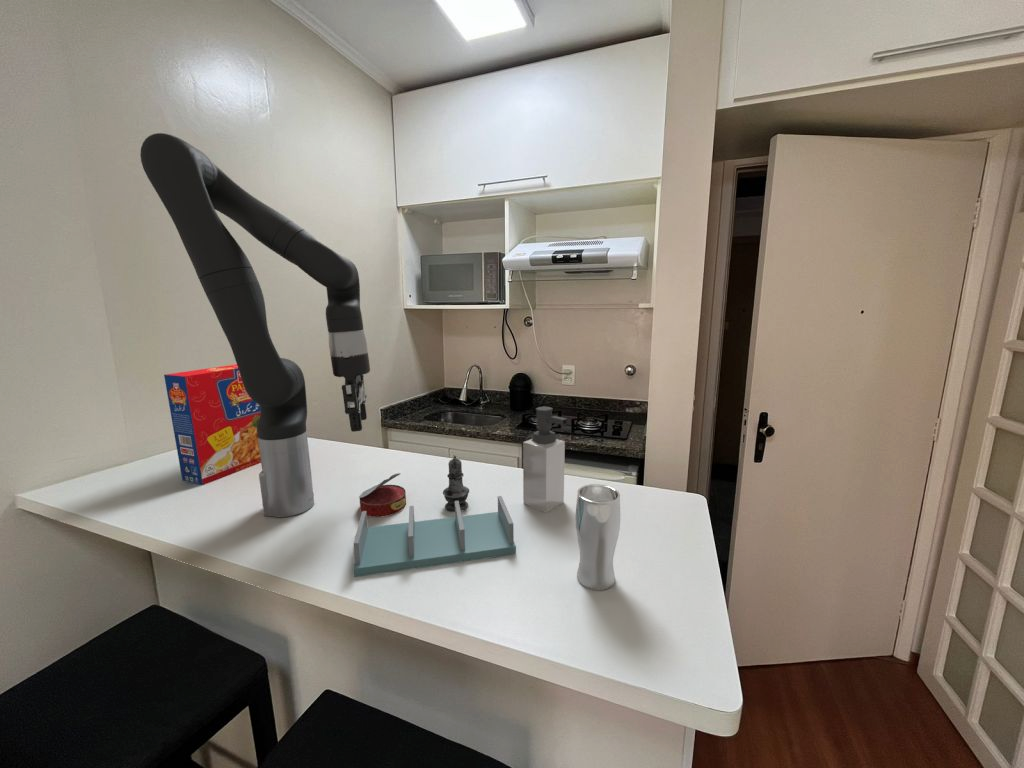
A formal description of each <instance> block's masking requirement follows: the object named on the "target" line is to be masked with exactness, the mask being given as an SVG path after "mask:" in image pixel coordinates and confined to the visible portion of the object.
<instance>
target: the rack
mask: <svg viewBox="0 0 1024 768" xmlns="http://www.w3.org/2000/svg"><path fill="white" fill-rule="evenodd" d="M408 507H409V509H408V522H403V523H394V524H393V523H392V524H385V525H378V526H377V525H376V526H368V516H367V511H362V512H361V514H360V517H359V522H358V525H357V528H356V529H357V530H356V533H355V537H354V540H353V554H354V564H353V569H352V570H353V577H354V578H355V577H356V578H357V577H362V576H363V577H364V576H371V575H377V574H384V573H392V572H399V571H405V570H413V569H418V568H419V569H420V568H425V567H426V568H427V567H433V566H440V565H448V564H455V563H461V562H467V561H475V560H482V559H489V558H496V557H504V556H510V555H516V554H517V546H516V543H515V541H514V534H515V533H514V522H513V519H512V517H511V515H510V513H509V510H508V507H507V505H506V503H505V501H504V498H503V496H502V495H498V496H497V511H495V512H486V513H485V512H484V513H478V514H477V513H475V514H470V515H462V511H461V510H460V505H459V501H455V512H454V516H453V517H445V518H436V519H435V518H434V519H427V520H425V519H424V520H418V521H415V506H414V505H409V506H408Z"/></svg>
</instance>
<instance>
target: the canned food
mask: <svg viewBox="0 0 1024 768" xmlns="http://www.w3.org/2000/svg"><path fill="white" fill-rule="evenodd" d="M400 475H401V473H395V474H393V475H391V476H390V477H388V478H387V479H384V480H382V481H381V482H380V483H378V484H376V485H374V486H371V487H370V488H368V489H366V490H365V491H363V492H362V493H361V494H360V495H359V496H358V497H359V498H358V499H359V505H360V506H359V508H360V512H361V513H362V511H367V517H370V516H371V518H383V517H387V516H393V515H395V514H397V513H399V512H401V511H402V510H403V509H405V507H407V506H406V505H407V495H406V489H405V488H404V487H402V486H401V485H398V484H397V485H396V484H387V483H388V482H390V481H392V480H393V479H395V478H396V477H398V476H400ZM382 516H383V517H382Z"/></svg>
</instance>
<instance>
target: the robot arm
mask: <svg viewBox="0 0 1024 768" xmlns="http://www.w3.org/2000/svg"><path fill="white" fill-rule="evenodd" d="M140 162H141V165H142V167H143V170H144V172H145V175H146V177H147V179H148V181H149V182H150V184H151V185H152V188H153V189H154V190H155V192H156V194H157V196H158V197H159V199H160V201H161V202H162V204H163V206H164V208H165V209H166V211H167V213H168V215H169V216H170V218H171V221H172V222H173V224H174V226H175V228H176V230H177V233H178V235H179V237H180V239H181V243H182V244H183V246H184V248H185V250H186V253H187V255H188V257H189V259H190V261H191V264H192V266H193V268H194V270H195V273H196V276H197V278H198V280H199V282H200V285H201V287H202V289H203V291H204V294H205V295H206V298H207V300H208V302H209V304H210V305H211V307H212V310H213V311H214V314H215V316H216V318H217V321H218V323H219V325H220V326H221V328H222V329H221V330H222V331H223V333H224V334H225V338H226V339H227V341H228V343H229V346H230V348H231V351H232V355H233V357H234V360H235V362H236V364H237V366H238V369H239V372H240V376H241V379H242V382H243V385H244V387H245V390H246V392H247V394H248V395H249V396H250V398H251V399H252V400H253V401H255V402H256V403H258V404H259V405H261V413H260V418H259V421H258V423H257V435H258V443H259V450H260V457H261V463H260V464H261V472H259V474H258V480H259V485H260V486H259V487H260V494H261V501H262V509H263V515H264V516H265V517H267V516H271V517H274V518H287V517H293V516H297V515H299V514H302V513H305V512H307V511H308V510H310V509H311V508H312V507H313V506H314V505H315V499H314V498H315V496H314V495H315V494H314V488H313V479H312V478H313V477H312V469H311V458H310V451H309V450H310V449H309V441H308V432H307V420H308V419H307V417H308V404H307V403H308V402H307V389H306V382H305V375H304V373H303V370H302V369H301V368H300V366H299V365H298V364H297V363H296V362H294V361H293V360H291V359H289V358H286V357H285V358H284V357H280V354H279V353H278V350H277V349H276V346H275V345H274V342H273V341H272V337H271V334H270V333H269V332H270V331H269V327H268V320H267V311H266V303H265V297H264V292H263V290H262V288H261V284H260V282H259V280H258V277H257V275H256V273H255V270H254V268H253V265H252V264H251V262H250V260H249V258H248V257H247V255H246V253H245V252H244V251H243V249H242V247H241V246H240V245H239V243H238V242H237V240H236V239H235V237H234V236H233V235H232V234H231V232H230V231H229V230H228V228H227V227H226V226H225V224H224V223H223V221H222V220H221V218H220V216H218V213H217V212H219V213H220V214H222V215H224V216H226V217H228V219H230V220H231V221H233V222H234V223H236V224H237V225H239V226H240V227H242V229H244V230H245V231H246V232H247V233H248V234H250V235H251V236H252V237H253V238H254V239H256V240H257V241H258V242H259V243H261V244H262V245H264V246H265V247H266V248H268V249H269V250H271V251H272V252H274V253H276V254H277V255H279V257H281V258H283V259H285V260H286V261H288V262H290V263H291V264H293V265H295V266H297V267H298V268H299V269H300V270H301V271H303V272H304V273H305V274H307V275H308V276H309V277H310V278H312V279H313V280H315V281H316V282H317V283H318V284H320V285H321V286H323V287H325V288H326V296H327V306H326V307H325V320H326V326H327V333H328V348H329V355H330V360H331V361H330V362H331V368H332V374H333V376H334V377H336V378H344V384H342V385H341V390H342V397H343V398H342V399H343V406H344V413H345V414H346V415H348V421H349V426H350V432H360V431H362V430H363V424H362V421H366V420H367V418H368V416H367V408H366V402H367V393H366V387H365V386H366V385H365V384H366V383H365V379H364V375H367V374H368V373H370V372H371V365H370V358H369V350H368V344H367V337H366V334H365V331H364V323H363V315H362V310H361V290H360V289H361V287H360V286H361V285H360V283H361V282H360V277H359V272H358V269H357V266H356V264H355V263H354V262H353V261H351V260H350V259H348V258H347V257H345V256H343V255H341V254H339V253H338V252H336V251H335V250H333V249H332V248H330V247H329V246H327V245H325V244H324V243H322V242H321V241H319V240H317V239H316V237H314V236H313V235H312V233H310V232H308V231H307V230H306V229H304V228H303V227H302V226H300V225H298V224H297V223H295V222H294V221H293V220H291V219H290V218H288V217H287V216H285V215H284V214H282V213H280V212H279V211H278V210H275V209H274V208H272V207H271V206H270V205H267V204H266V203H264V202H262V201H261V200H259V199H258V198H257V197H254V195H252V194H250V193H249V192H248V191H246V190H245V189H243V188H242V187H241V186H240V185H238V183H236V182H235V181H234V180H233V179H232V178H230V177H229V175H227V174H226V173H225V172H224V171H223V170H221V168H219V167H218V166H217V165H216V164H215V163H214V162H213V161H212V160H211V159H210V158H209V156H207V155H206V154H205V153H204V152H203V151H201V150H199V149H198V148H197V147H195V146H193V145H191V144H190V143H188V142H187V141H185V140H183V139H182V138H179V137H177V136H175V135H171V134H168V133H164V132H163V133H162V132H157V133H152V134H150V135H149V136H147V137H146V138H145V139H144V140H143V142H142V145H141V147H140ZM352 405H354V407H353V406H352ZM351 406H352V407H351Z"/></svg>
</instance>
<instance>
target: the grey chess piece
mask: <svg viewBox="0 0 1024 768" xmlns="http://www.w3.org/2000/svg"><path fill="white" fill-rule="evenodd" d="M462 466H463V465H462V460H460V459H459V458H457V456H456V455H454V456H453V457H452V459H450V460H449V461H448V474H447V478H448V486H447V487H446V488H444V489H443V490H442V494H443V497H444V499H445V501H446V502H447V503H445V505H444V510H446V511H447V512H451V513H455V501H459V505H460V510H461V512H464V511H465V510H466V509H468V508H469V503H468V502H467V501H466V500H468V499H467V498H468V497H469V493H470V489H469V487H467V486H464V483H463V477H464V475H465V474H464V473H463V471H462V470H463V469H462V468H463V467H462Z"/></svg>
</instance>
